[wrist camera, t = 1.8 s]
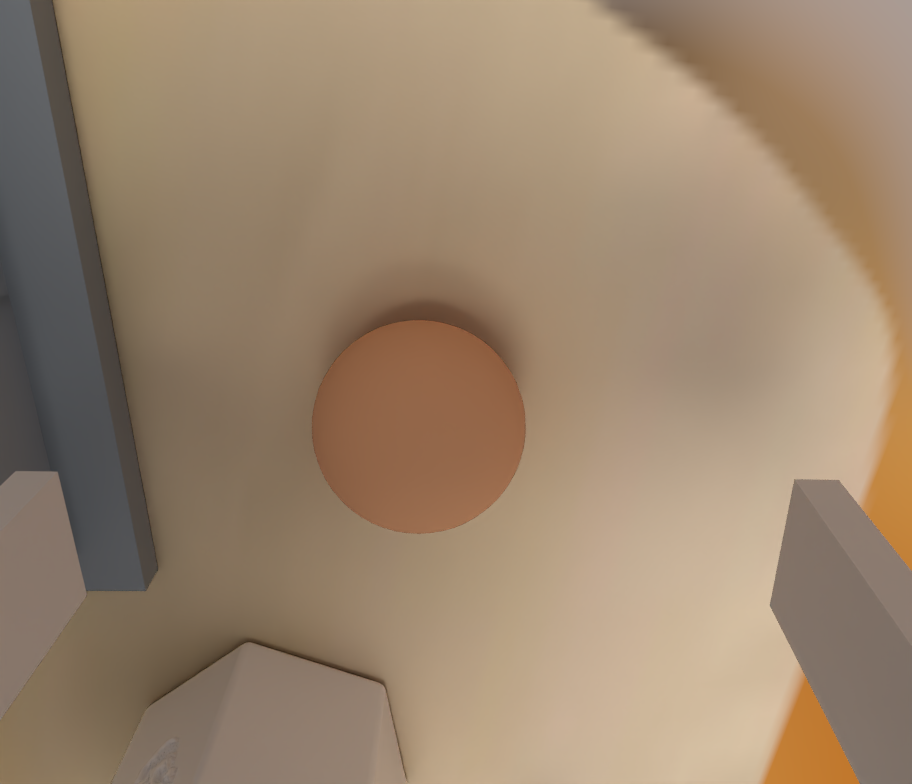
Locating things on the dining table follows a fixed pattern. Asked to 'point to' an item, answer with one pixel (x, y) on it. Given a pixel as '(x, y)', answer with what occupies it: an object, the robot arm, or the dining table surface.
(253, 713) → the jar
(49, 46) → the rack
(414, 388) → the ball
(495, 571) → the dining table surface
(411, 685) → the dining table surface
